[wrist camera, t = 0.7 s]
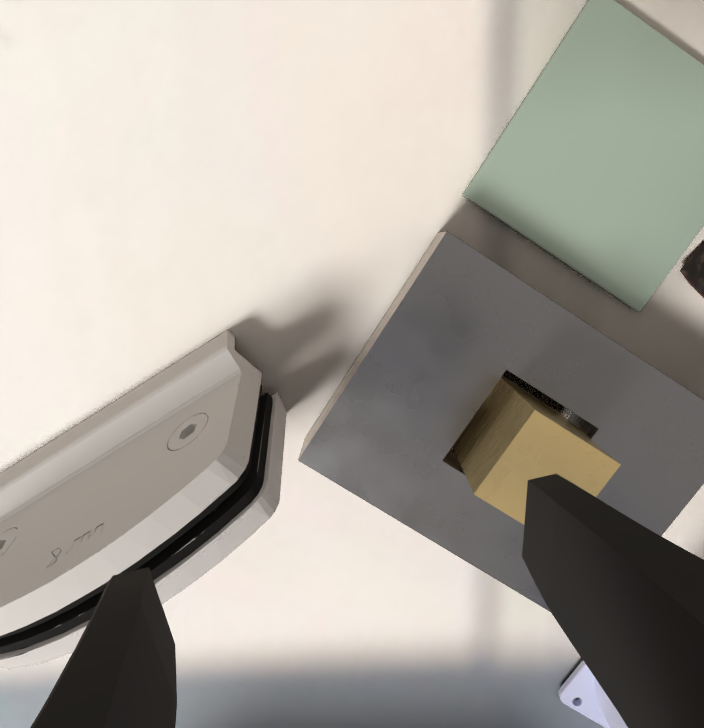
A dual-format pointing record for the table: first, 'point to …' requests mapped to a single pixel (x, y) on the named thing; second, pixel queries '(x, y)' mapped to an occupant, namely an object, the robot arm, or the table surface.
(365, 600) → the table surface
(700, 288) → the diary
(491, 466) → the brass peg
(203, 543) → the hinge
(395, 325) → the metal square hole block
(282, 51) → the table surface
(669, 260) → the rubber mat
